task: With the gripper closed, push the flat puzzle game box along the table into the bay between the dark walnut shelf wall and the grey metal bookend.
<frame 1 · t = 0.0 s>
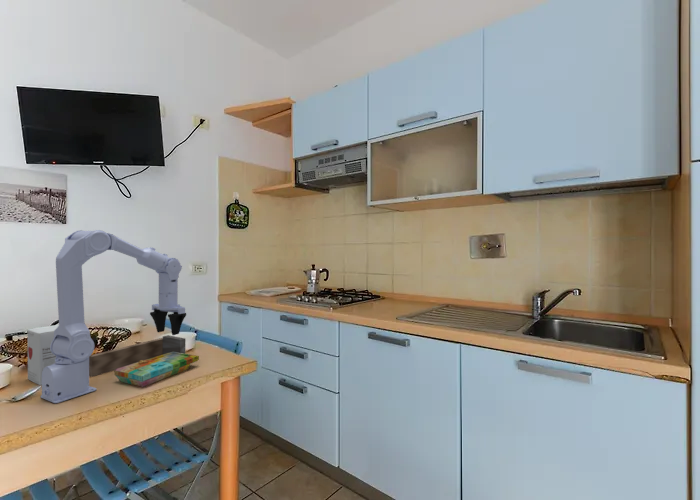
hand: (168, 333, 119), 10 cm above the table, tool pointing down, fingers open, 7 cm apart
supplement box: (51, 378, 105), on the table
puzzle game: (159, 375, 109), on the table
shelf corner: (149, 368, 113), on the table
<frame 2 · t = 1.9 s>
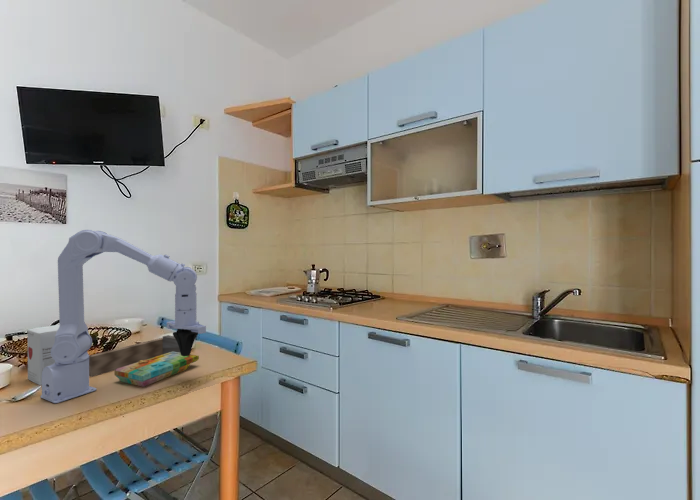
hand: (185, 355, 103), 8 cm above the table, tool pointing down, fingers closed
nothing on the table moved.
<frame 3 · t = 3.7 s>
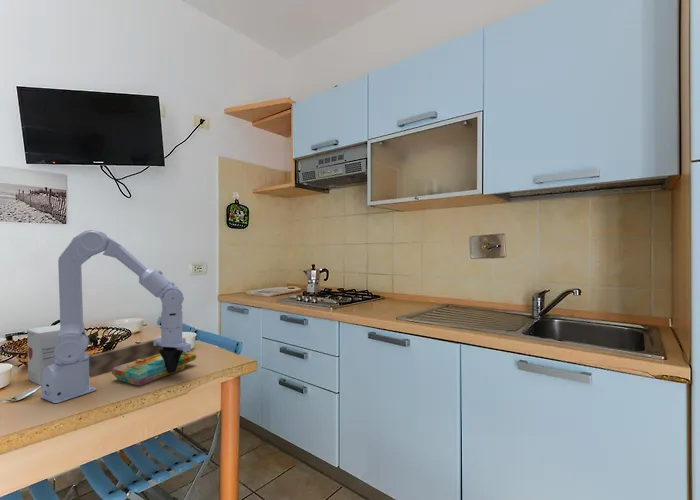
hand: (171, 371, 106), 2 cm above the table, tool pointing down, fingers closed
puzzle game: (156, 374, 110), on the table
everything else where it was.
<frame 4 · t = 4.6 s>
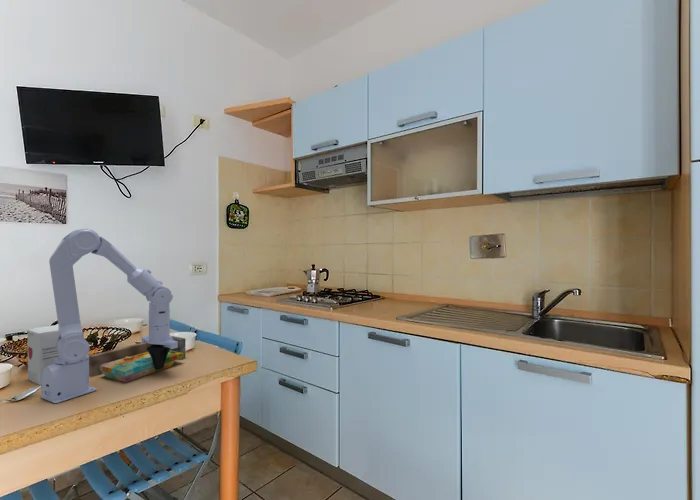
hand: (159, 368, 109), 2 cm above the table, tool pointing down, fingers closed
puzzle game: (144, 371, 112), on the table
everything else where it was.
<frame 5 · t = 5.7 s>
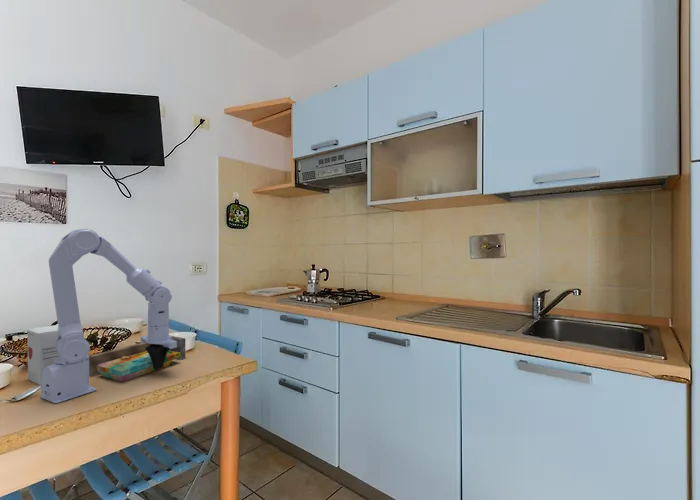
hand: (158, 368, 109), 2 cm above the table, tool pointing down, fingers closed
puzzle game: (141, 371, 112), on the table
everything else where it was.
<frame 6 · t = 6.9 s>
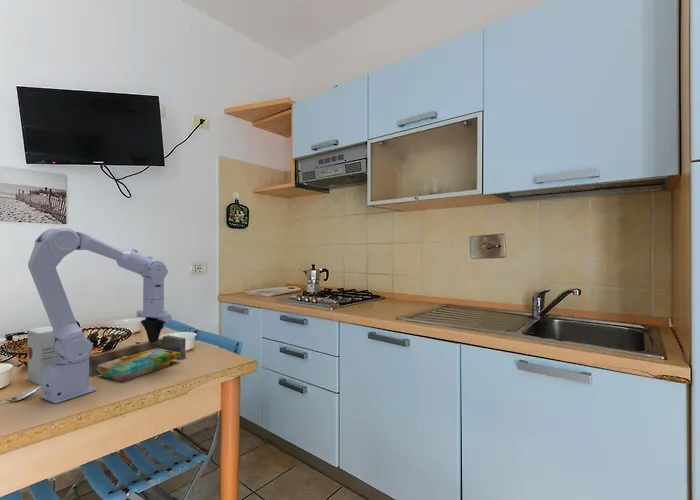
hand: (153, 341, 111), 9 cm above the table, tool pointing down, fingers closed
nothing on the table moved.
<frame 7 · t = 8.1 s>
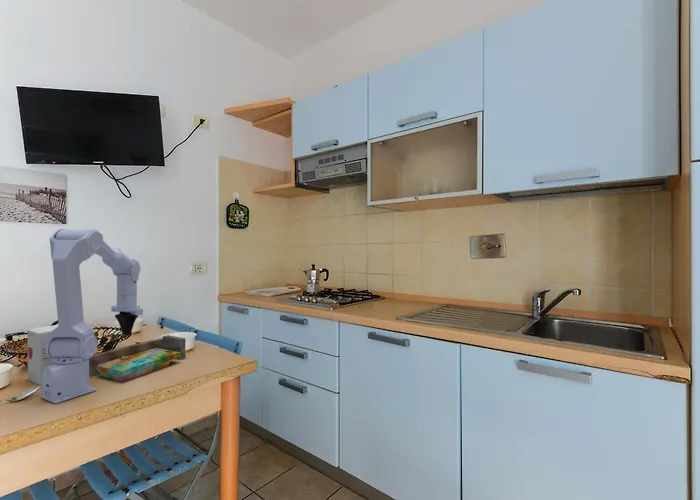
hand: (126, 334, 120), 9 cm above the table, tool pointing down, fingers closed
nothing on the table moved.
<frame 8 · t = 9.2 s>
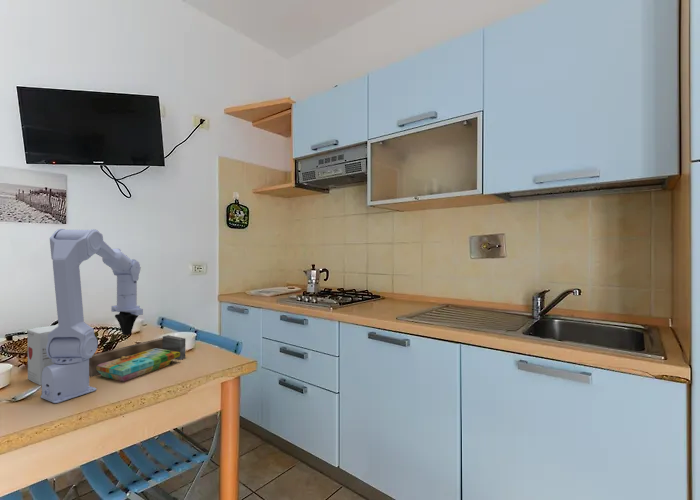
hand: (126, 334, 120), 9 cm above the table, tool pointing down, fingers closed
nothing on the table moved.
at the end: puzzle game inside the target area (0.4 cm from its centre), on the table; puzzle game tilted 0° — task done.
